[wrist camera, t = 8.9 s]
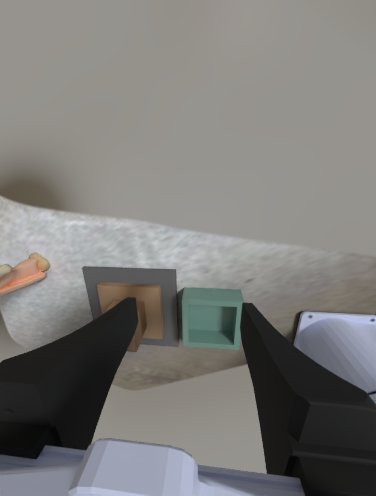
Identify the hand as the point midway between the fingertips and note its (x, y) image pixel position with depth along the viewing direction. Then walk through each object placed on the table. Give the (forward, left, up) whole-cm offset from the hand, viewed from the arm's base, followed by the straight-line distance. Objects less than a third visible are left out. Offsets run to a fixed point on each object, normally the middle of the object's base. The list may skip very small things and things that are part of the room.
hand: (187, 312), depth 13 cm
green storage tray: (-2, +8, -10) cm, 13 cm away
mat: (+9, +8, -10) cm, 16 cm away
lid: (+9, +8, -10) cm, 15 cm away
